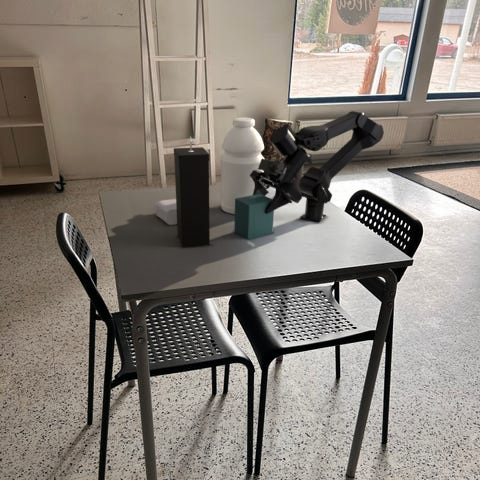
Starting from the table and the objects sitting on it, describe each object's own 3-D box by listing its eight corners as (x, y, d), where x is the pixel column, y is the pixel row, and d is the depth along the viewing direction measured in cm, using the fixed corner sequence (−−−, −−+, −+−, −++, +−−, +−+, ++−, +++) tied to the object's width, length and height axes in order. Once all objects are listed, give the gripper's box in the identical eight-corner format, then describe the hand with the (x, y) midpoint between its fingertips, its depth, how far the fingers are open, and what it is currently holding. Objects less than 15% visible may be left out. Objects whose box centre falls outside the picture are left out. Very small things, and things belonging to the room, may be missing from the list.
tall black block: (182, 247, 136) (177, 141, 121) (177, 236, 143) (172, 135, 128) (209, 245, 138) (209, 140, 123) (204, 234, 144) (202, 134, 130)
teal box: (258, 225, 152) (260, 193, 147) (272, 233, 147) (274, 200, 142) (234, 231, 147) (234, 198, 142) (247, 239, 143) (249, 205, 137)
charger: (174, 206, 165) (194, 220, 154) (148, 210, 161) (167, 225, 150) (173, 192, 162) (194, 205, 152) (147, 196, 158) (166, 210, 147)
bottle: (212, 206, 166) (211, 117, 151) (244, 199, 173) (247, 113, 159) (237, 218, 157) (239, 125, 142) (270, 210, 164) (276, 120, 149)
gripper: (256, 141, 145) (224, 184, 145) (297, 155, 132) (262, 202, 132) (275, 165, 153) (245, 206, 153) (316, 180, 140) (283, 224, 140)
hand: (257, 209), depth 144 cm, fingers closed on teal box, 7 cm apart
